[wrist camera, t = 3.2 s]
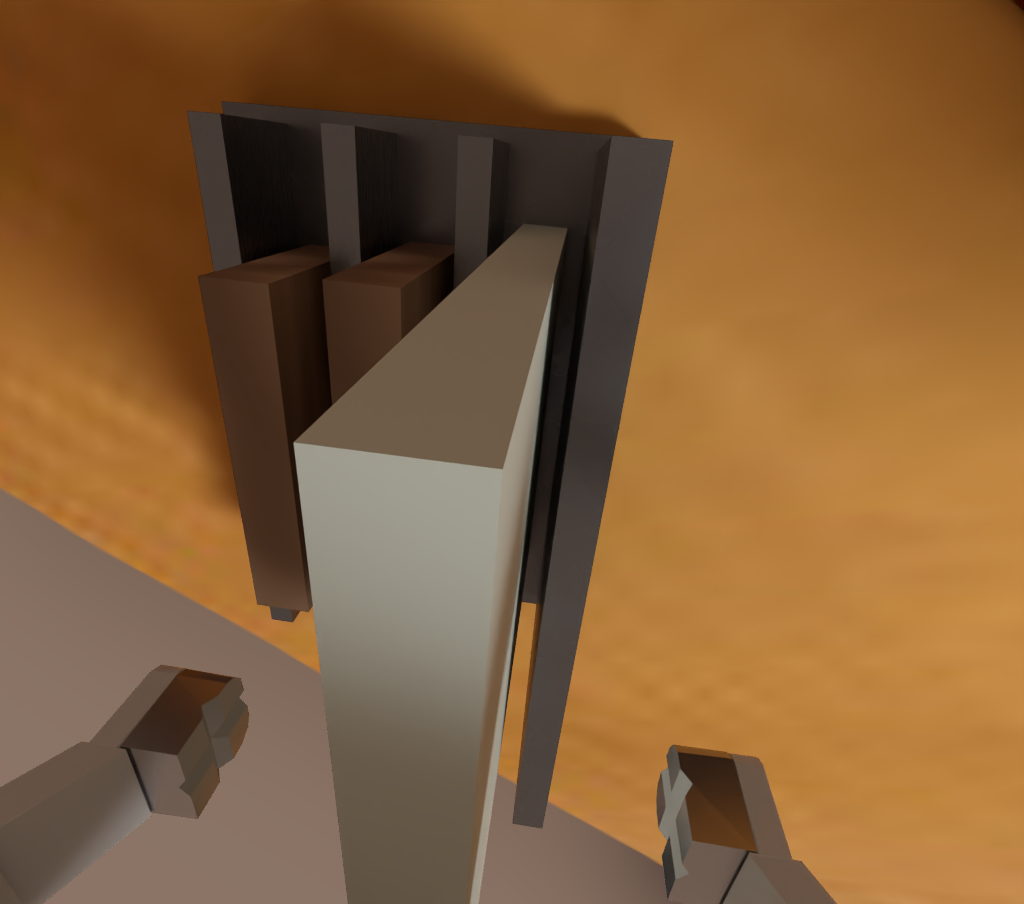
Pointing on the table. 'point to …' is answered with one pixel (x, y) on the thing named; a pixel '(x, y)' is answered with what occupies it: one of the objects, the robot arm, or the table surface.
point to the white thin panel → (429, 571)
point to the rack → (476, 235)
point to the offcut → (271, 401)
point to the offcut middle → (381, 306)
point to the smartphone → (1020, 3)
